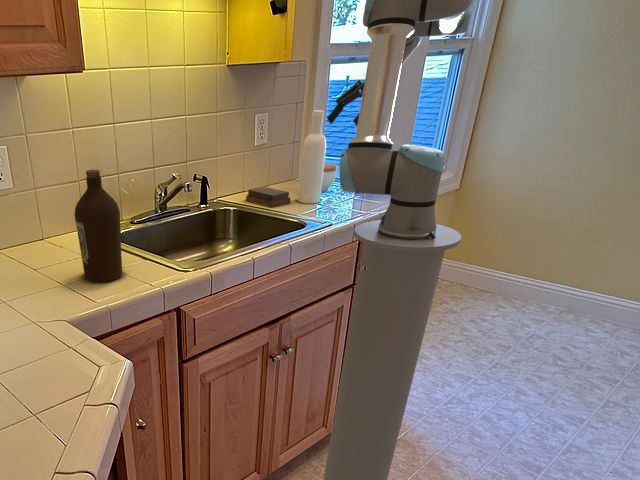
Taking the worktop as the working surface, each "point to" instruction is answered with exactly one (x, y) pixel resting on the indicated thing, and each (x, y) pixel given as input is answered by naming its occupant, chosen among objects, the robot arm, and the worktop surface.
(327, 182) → the lidded bowl
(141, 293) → the worktop surface
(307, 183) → the bottle
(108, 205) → the olive oil
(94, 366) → the worktop surface
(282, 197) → the sharpening stone
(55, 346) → the worktop surface
